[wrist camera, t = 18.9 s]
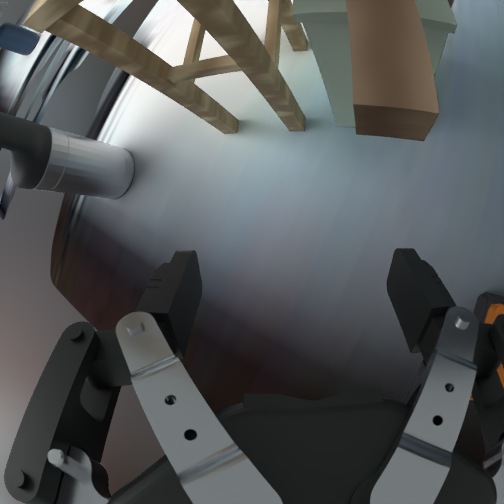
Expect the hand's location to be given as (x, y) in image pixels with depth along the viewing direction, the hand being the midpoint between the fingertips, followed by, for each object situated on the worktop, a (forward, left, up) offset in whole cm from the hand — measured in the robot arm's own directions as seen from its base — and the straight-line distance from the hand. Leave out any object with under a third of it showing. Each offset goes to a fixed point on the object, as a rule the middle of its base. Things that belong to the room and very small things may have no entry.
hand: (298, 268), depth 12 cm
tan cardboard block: (+4, +21, -3) cm, 21 cm away
